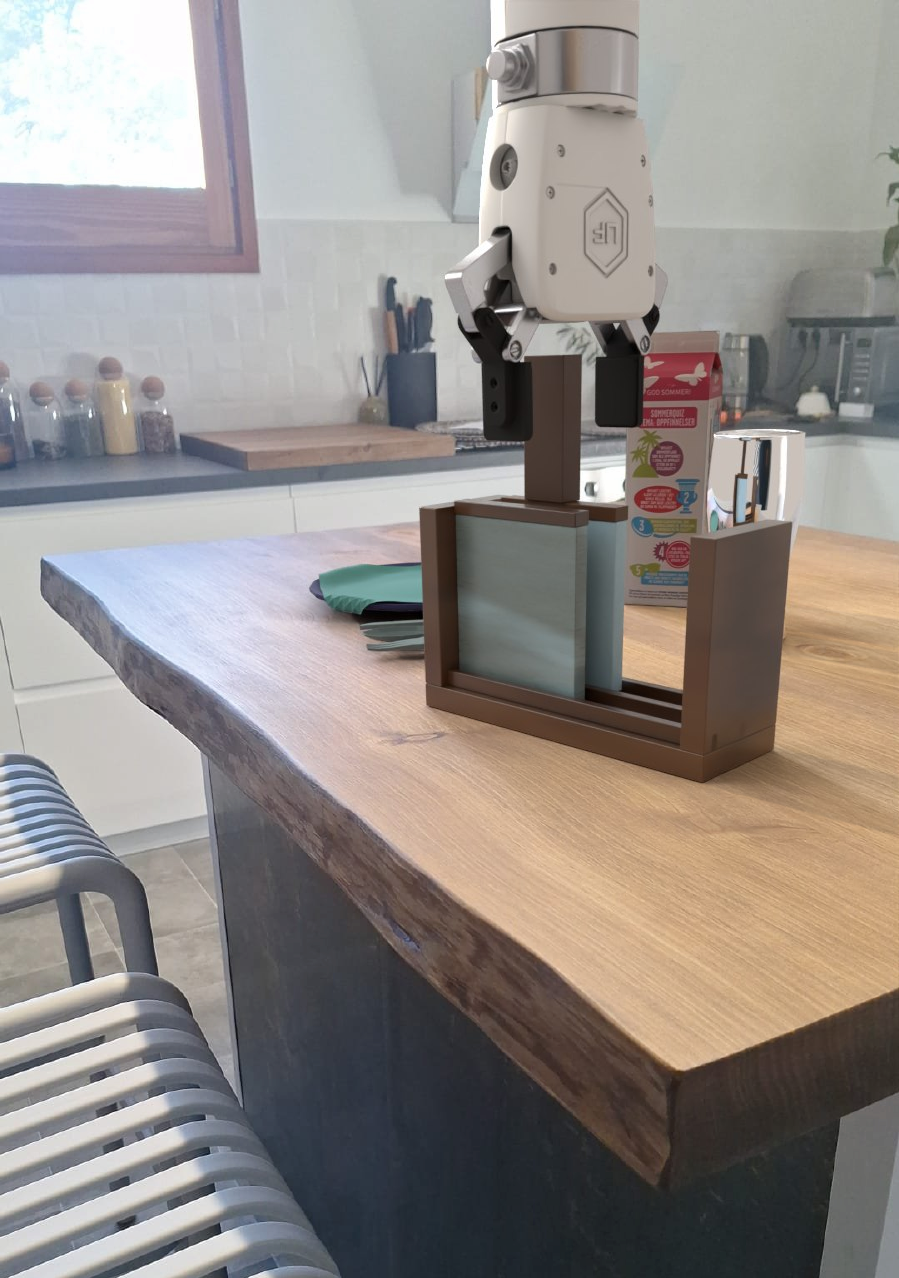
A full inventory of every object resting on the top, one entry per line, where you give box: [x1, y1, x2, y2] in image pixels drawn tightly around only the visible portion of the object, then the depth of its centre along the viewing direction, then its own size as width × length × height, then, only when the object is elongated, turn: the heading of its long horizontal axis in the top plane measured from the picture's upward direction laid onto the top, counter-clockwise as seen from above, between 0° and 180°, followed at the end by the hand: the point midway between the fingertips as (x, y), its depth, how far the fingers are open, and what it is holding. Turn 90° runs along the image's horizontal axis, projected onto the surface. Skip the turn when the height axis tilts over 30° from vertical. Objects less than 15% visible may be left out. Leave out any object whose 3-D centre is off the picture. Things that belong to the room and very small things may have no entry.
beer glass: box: [706, 428, 807, 640], centre depth 85 cm, size 7×7×15 cm
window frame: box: [418, 494, 792, 783], centre depth 66 cm, size 7×21×13 cm, turn 44°
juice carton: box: [624, 330, 724, 608], centre depth 97 cm, size 7×7×22 cm
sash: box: [501, 353, 628, 691], centre depth 67 cm, size 2×9×19 cm, turn 44°
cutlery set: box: [308, 561, 424, 652], centre depth 98 cm, size 20×30×2 cm, turn 8°
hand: (565, 433), depth 65 cm, fingers open, 9 cm apart
